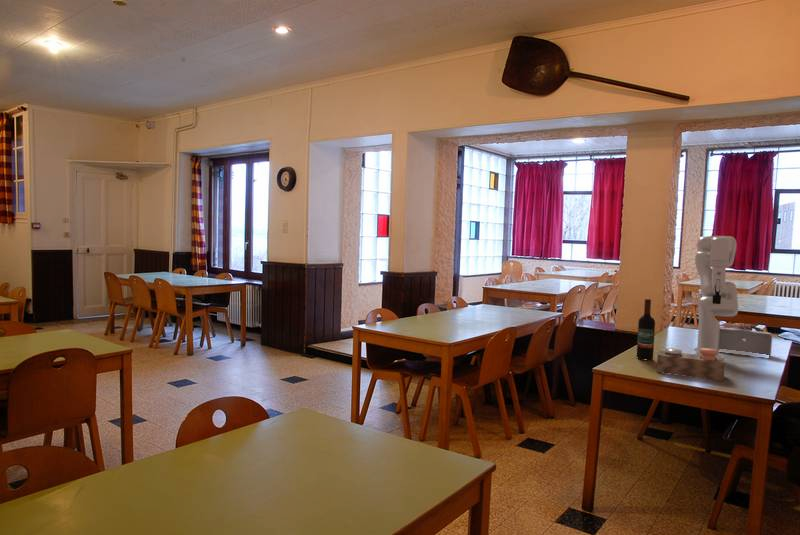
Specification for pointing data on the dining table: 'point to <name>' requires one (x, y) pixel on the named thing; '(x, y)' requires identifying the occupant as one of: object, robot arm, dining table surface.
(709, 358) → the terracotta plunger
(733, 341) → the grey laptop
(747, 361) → the dining table surface
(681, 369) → the press block
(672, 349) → the steel plunger
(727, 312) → the robot arm
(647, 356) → the wine bottle
